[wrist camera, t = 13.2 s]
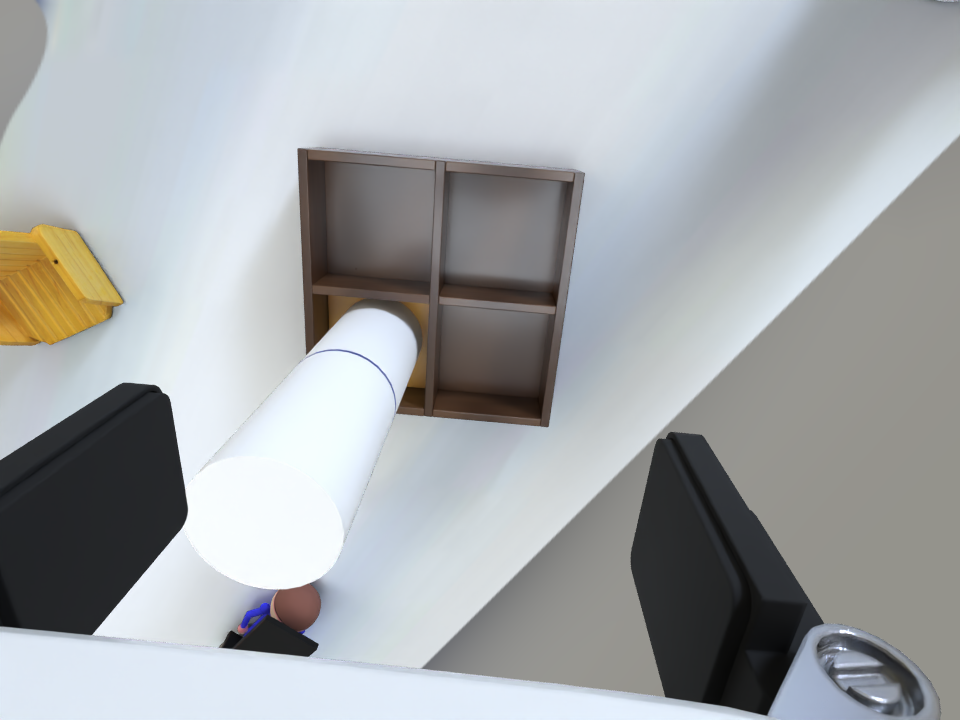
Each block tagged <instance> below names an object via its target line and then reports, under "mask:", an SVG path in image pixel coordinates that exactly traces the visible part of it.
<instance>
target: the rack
mask: <svg viewBox="0 0 960 720" xmlns="http://www.w3.org/2000/svg"><path fill="white" fill-rule="evenodd" d="M297 150H298V173H299V196H300V220H301V243H302V266H303V290H304V313H305V336H306V355H307V354H308V353H309V352H310V351H311V350H312V349H313V347H314V346H315V345H316V344H317V343H318V342H319V341H320V340H321V339H322V338H323V337H324V336H325V335H326V334H327V332H328V331H329V330H330V329H331V328H332V327H333V326H334V325H335V324H336V323H337V322H338V320H339V319H340V318H341V317H342V316H343V315H344V314H345V313H346V312H347V311H348V310H349V308H350V307H352V306H353V305H354V304H355V303H357V302H359V301H361V300H363V299H366V298H367V299H379V300H390V301H398V302H400V303H402V304H404V305H405V306H406V307H407V308H409V309H410V310H411V312H412V313H413V314H414V315H415V316H416V318H417V320H418V322H419V324H420V327H421V330H422V338H423V341H422V348H421V351H420V354H419V356H418V359H417V361H416V364H415V366H414V369H413V371H412V374H411V376H410V379H409V381H408V384H407V386H406V389H405V391H404V394H403V397H402V399H401V402H400V404H399V407H398V409H397V412H396V414H407V415H418V416H430V417H432V416H433V417H442V418H453V419H464V420H476V421H487V422H498V423H509V424H520V425H531V426H541V427H549V420H550V413H551V406H552V399H553V392H554V385H555V378H556V371H557V364H558V357H559V350H560V343H561V336H562V329H563V322H564V315H565V308H566V301H567V294H568V287H569V281H570V274H571V267H572V260H573V253H574V246H575V239H576V232H577V225H578V218H579V211H580V204H581V197H582V190H583V183H584V176H585V173H583V172H581V171H578V170H574V169H563V168H551V167H540V166H528V165H516V164H505V163H493V162H481V161H470V160H458V159H446V158H435V157H423V156H411V155H400V154H388V153H376V152H365V151H353V150H342V149H330V148H298V149H297Z"/></svg>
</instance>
